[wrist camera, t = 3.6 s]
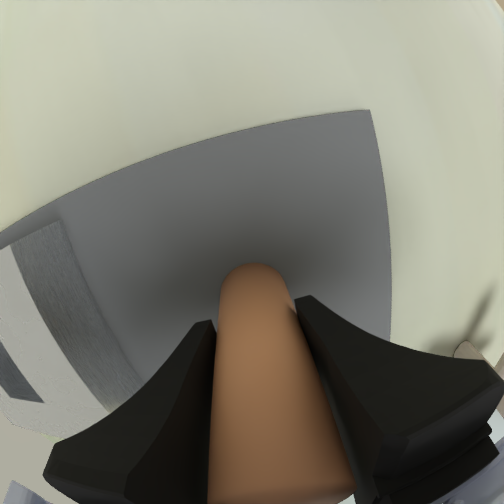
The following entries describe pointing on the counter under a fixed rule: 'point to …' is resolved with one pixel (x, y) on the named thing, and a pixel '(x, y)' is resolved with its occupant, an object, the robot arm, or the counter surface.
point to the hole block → (55, 340)
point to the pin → (270, 403)
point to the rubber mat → (232, 229)
